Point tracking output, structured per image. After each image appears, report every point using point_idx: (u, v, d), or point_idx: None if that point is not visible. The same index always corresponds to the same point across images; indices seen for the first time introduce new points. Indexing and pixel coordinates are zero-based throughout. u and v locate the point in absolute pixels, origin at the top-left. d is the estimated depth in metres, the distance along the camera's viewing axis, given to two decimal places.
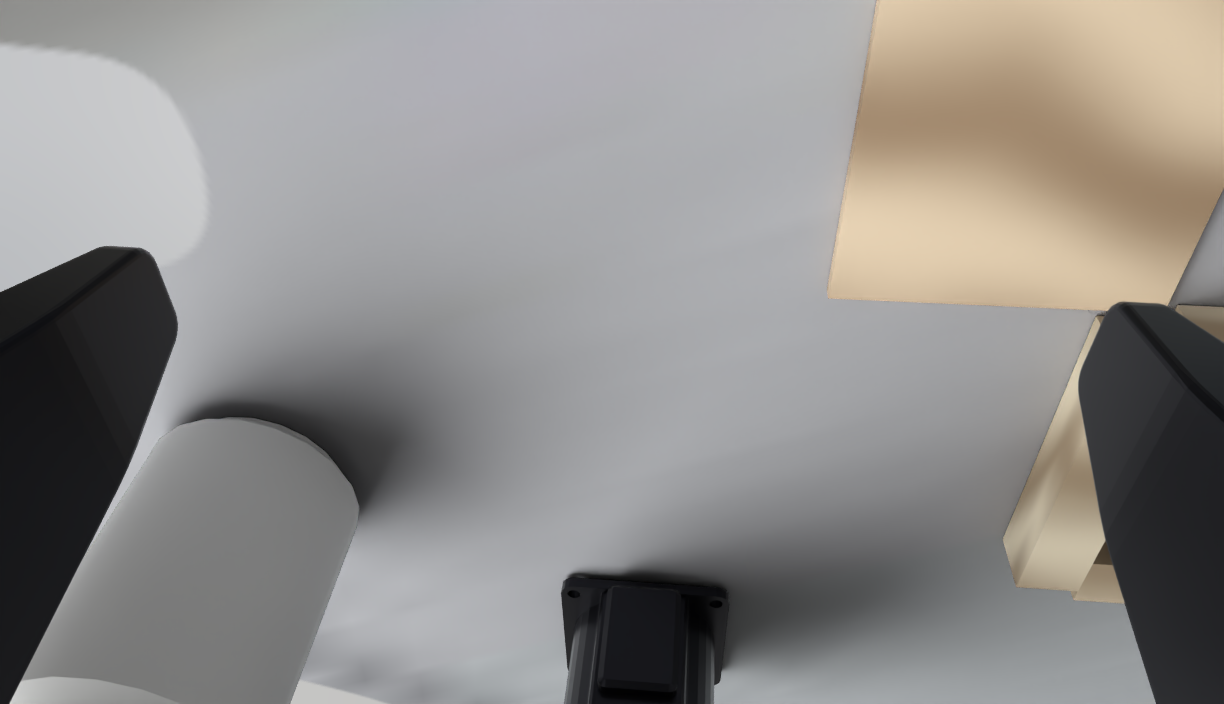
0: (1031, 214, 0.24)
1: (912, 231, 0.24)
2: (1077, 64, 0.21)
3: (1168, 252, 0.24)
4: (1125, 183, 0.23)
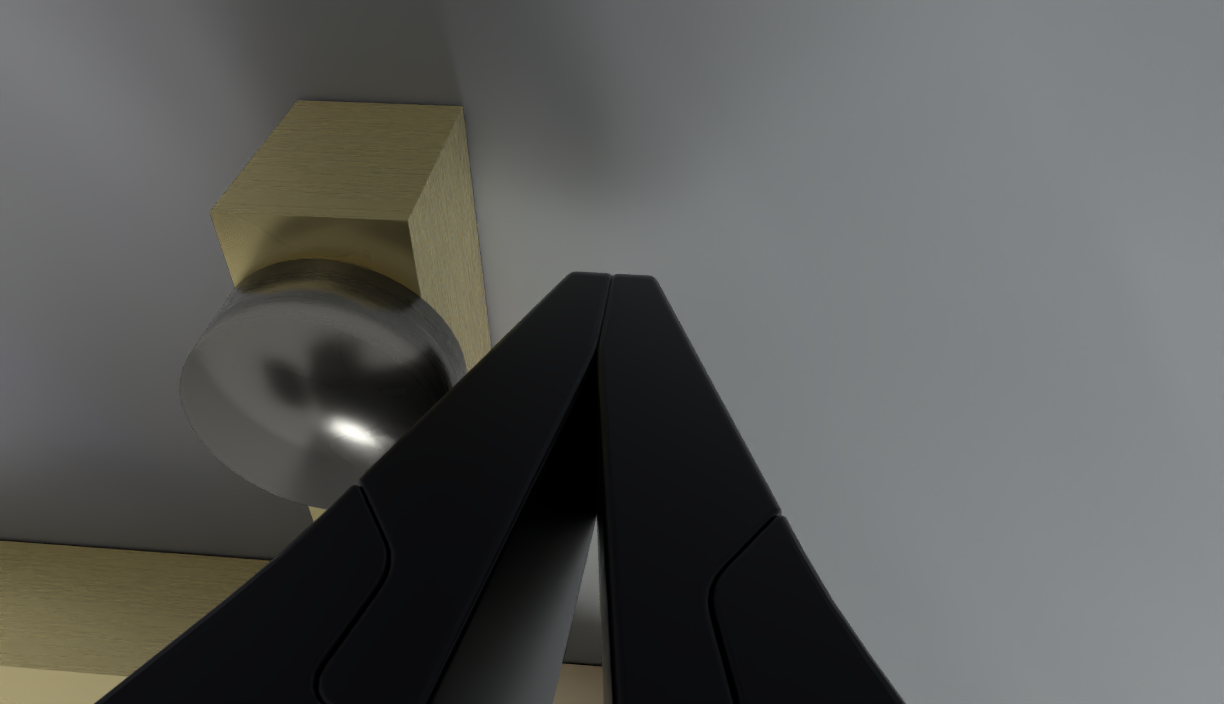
0: None
1: None
2: None
3: None
4: None
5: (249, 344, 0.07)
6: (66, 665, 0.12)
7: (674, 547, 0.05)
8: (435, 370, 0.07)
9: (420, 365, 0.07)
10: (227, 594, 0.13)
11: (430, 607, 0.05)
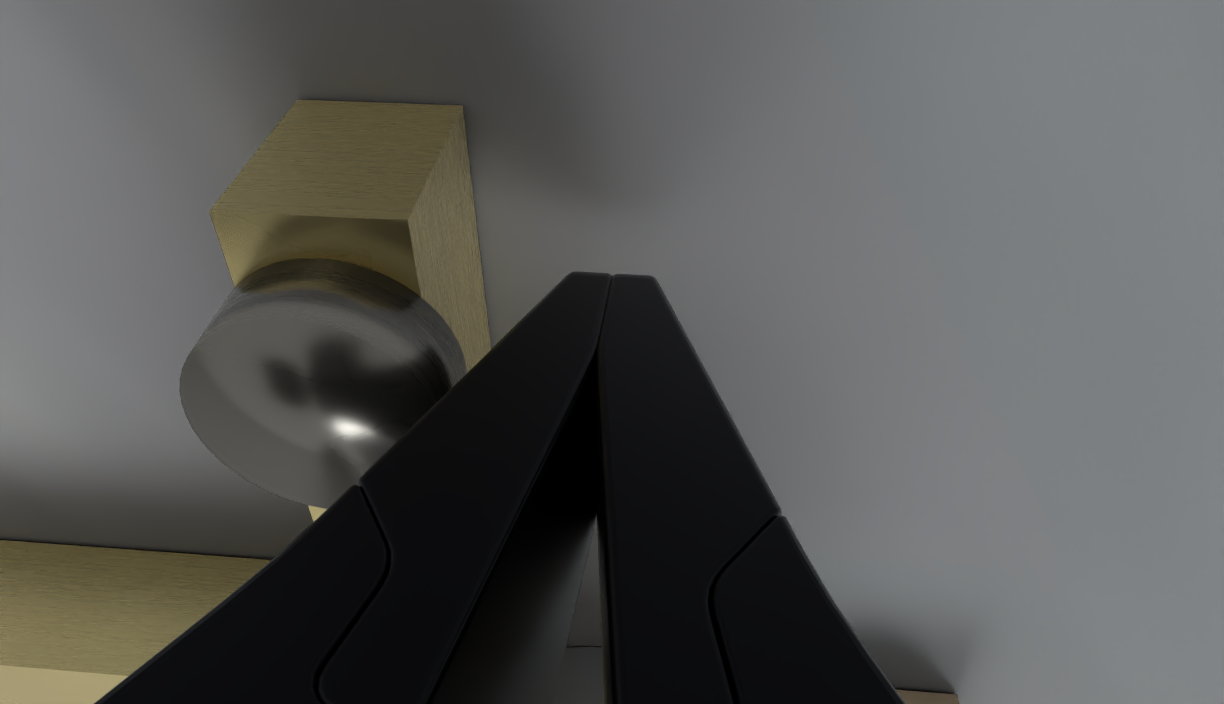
0: None
1: None
2: None
3: None
4: None
5: (248, 343, 0.07)
6: (65, 664, 0.12)
7: (674, 547, 0.05)
8: (434, 369, 0.07)
9: (419, 364, 0.07)
10: (227, 593, 0.13)
11: (430, 608, 0.05)
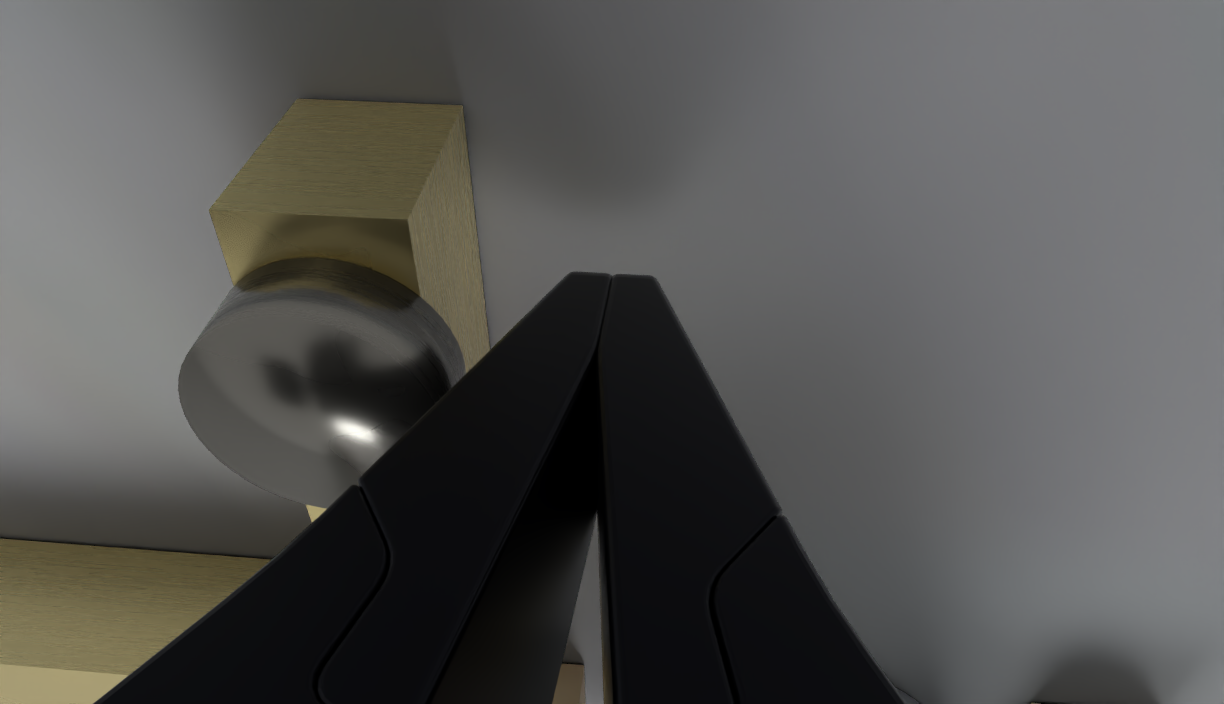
0: None
1: None
2: None
3: None
4: None
5: (248, 342, 0.07)
6: (62, 662, 0.12)
7: (674, 547, 0.05)
8: (434, 369, 0.07)
9: (419, 364, 0.07)
10: (224, 593, 0.13)
11: (429, 607, 0.05)
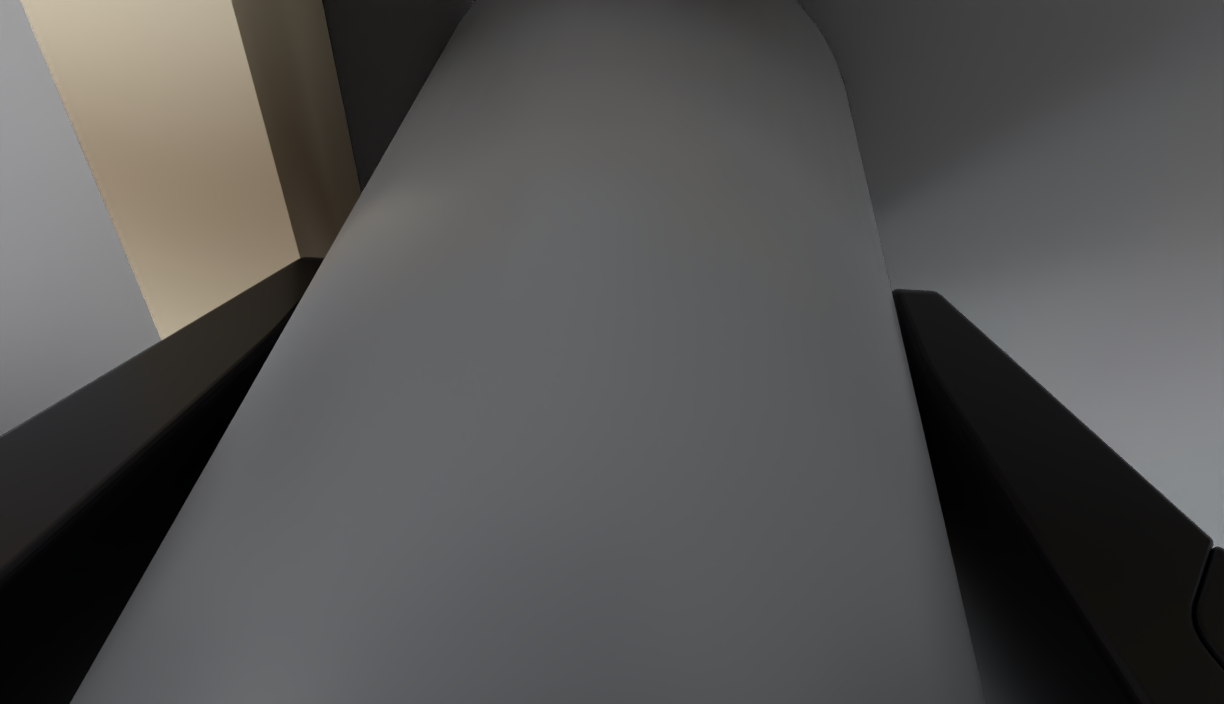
0: None
1: None
2: None
3: None
4: None
5: None
6: None
7: (1133, 581, 0.05)
8: None
9: None
10: None
11: None
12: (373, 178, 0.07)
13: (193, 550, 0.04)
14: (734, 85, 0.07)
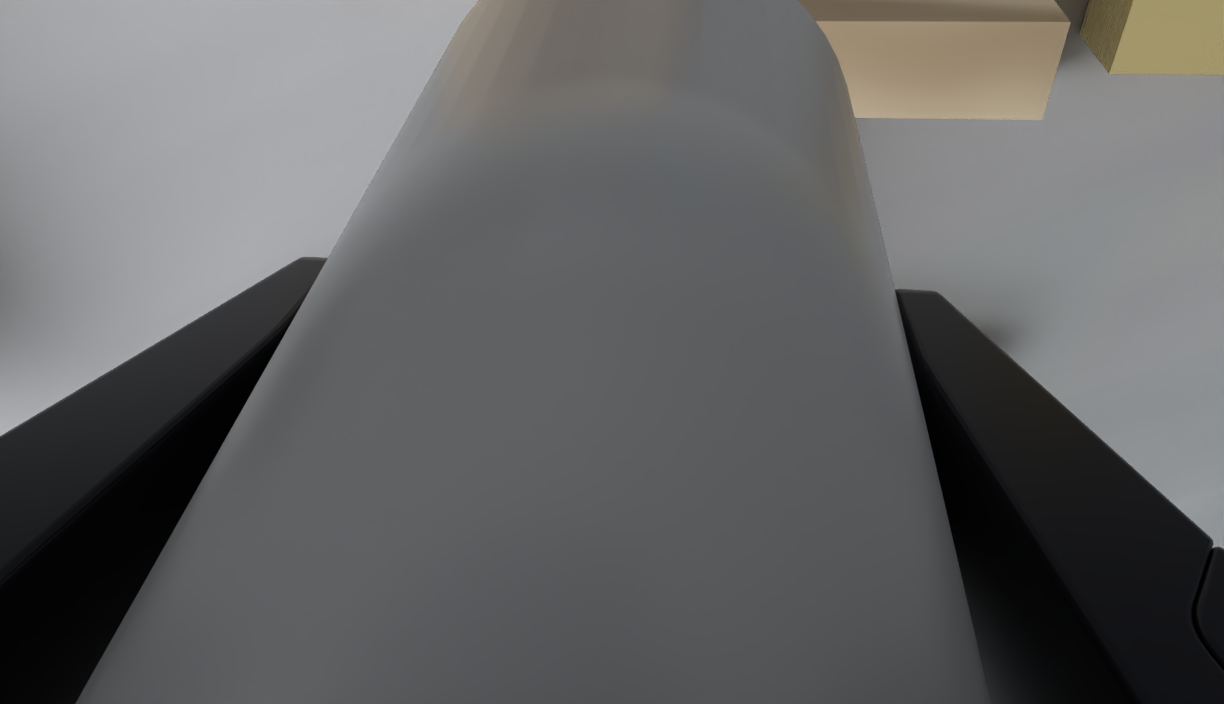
0: None
1: None
2: None
3: None
4: None
5: None
6: None
7: (1133, 582, 0.05)
8: None
9: None
10: None
11: None
12: (377, 178, 0.07)
13: (199, 549, 0.04)
14: (739, 85, 0.07)
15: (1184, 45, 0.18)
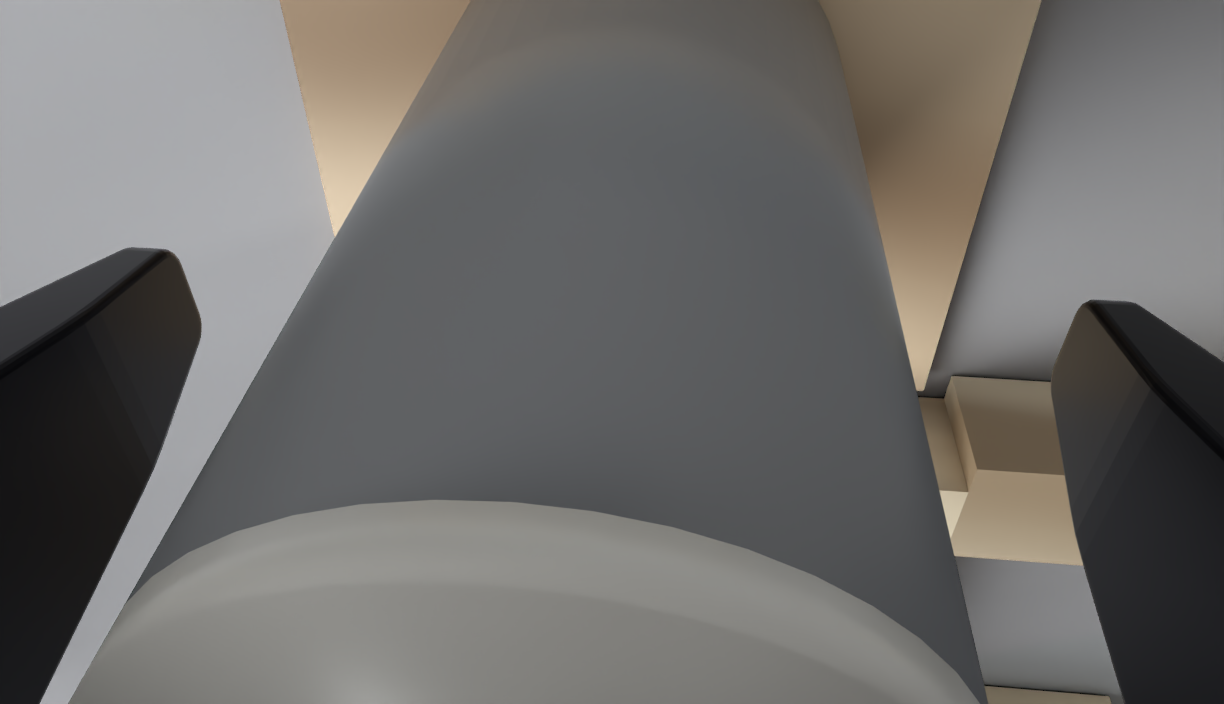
0: None
1: None
2: None
3: (911, 288, 0.13)
4: None
5: None
6: None
7: None
8: None
9: None
10: None
11: None
12: (407, 115, 0.08)
13: (277, 390, 0.05)
14: (735, 29, 0.08)
15: None
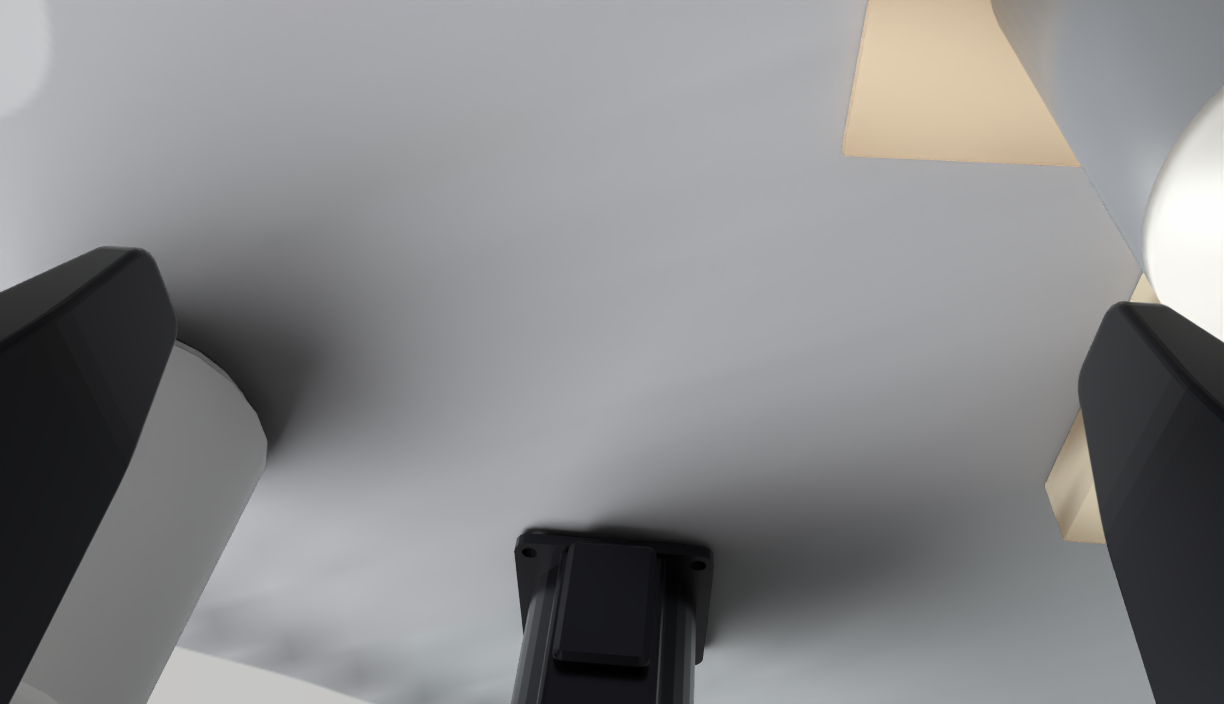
0: None
1: (955, 56, 0.19)
2: None
3: None
4: None
5: None
6: None
7: None
8: None
9: None
10: None
11: None
12: None
13: None
14: None
15: None
